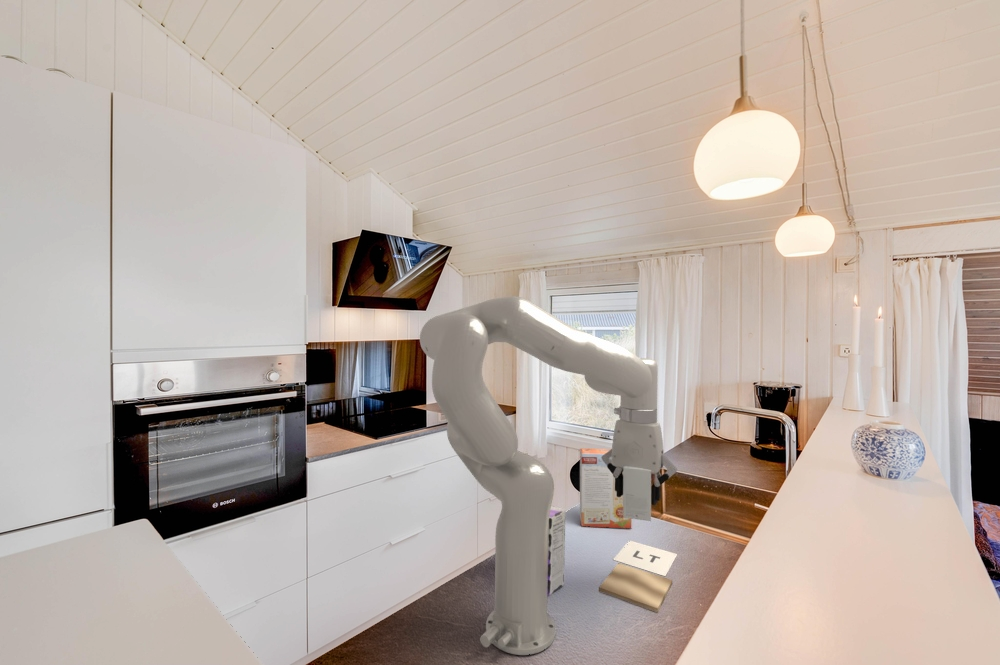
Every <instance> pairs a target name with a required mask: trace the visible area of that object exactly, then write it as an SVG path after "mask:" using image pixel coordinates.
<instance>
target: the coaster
mask: <svg viewBox="0 0 1000 665" xmlns="http://www.w3.org/2000/svg"><path fill="white" fill-rule="evenodd" d="M672 586H673V579H670V578H668V577H665V576H662V575H659V574H655V573H652V572H649V571H646V570H643V569H640V568H637V567H633V566H630V565H627V564H624V563H621V562H618V563H617V564H616V565H615V567H613V569H612V570H611V572H610V573H609V574H608V576H607V577H606V578H605V579H604V580H603V582H602V583H601V584H600V585H599V587H598V592H600V593H603V594H606V595H608V596H611V597H614V598H616V599H619V600H622V601H625V602H628V603H630V604H633V605H636V606H639V607H641V608H643V609H646V610H650V611H652V612H654V613H659V611H660V609H661V608H662V605H663V603H664V601H665V599H666V597H667V596H668V594H669V592H670V589H671V587H672Z"/></svg>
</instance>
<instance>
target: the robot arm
mask: <svg viewBox="0 0 1000 665" xmlns="http://www.w3.org/2000/svg"><path fill="white" fill-rule="evenodd" d="M419 343H420V344H419V345H420V347H421V350H422V351H423V353H424V354H425V355H426V356H427V357H428V358H430V359H432V360H434V361H433V366H432V374H431V389H432V394H433V397H434V400H435V401H436V404H437V406H438V407H439V410H441V412H442V414H443V415H444V417H445V418H446V420H447V425H446V435H447V438H448V442H449V444H450V446H451V448H452V449H453V451H454V453H456V455H457V457H458V458H459V459H460V460H461V461H462V463H463V465H464V466H465V467H466V469H468V471H469V472H470V473H471V475H472V476H473V478H475V480H476V482H478V484H480V485H481V487H482V488H484V489H485V490H486V491H487V492H488V493H489V494H491V495H492V496H493V497H495V498H496V499H498V500H499V501H500V503H501V511H500V514H499V516H498V518H497V523H496V527H495V539H494V540H495V543H494V544H495V559H494V560H495V561H494V562H495V563H494V564H495V566H494V567H495V568H494V569H495V570H494V609H493V610H492V611H491V612H490V613H489V615H488V616H487V618H486V622H485V631H484V633H483V634H481V636H480V638H479V641H480V644H481V645H482V646H483V647H484V648H488V647H490V646H491V645H493V646H494V647H496V648H497V649H499V650H500V651H502V652H504V653H508V654H511V655H515V656H516V655H518V656H528V655H529V654H530V655H535V654H537V653H541V652H542V651H544V649H545V650H546V649H547V648H549V647H550V646H551V645H552V643H553V642H554V640H555V638H556V624H555V621H554V619H553V617H552V616H551V615H550V614H549V613H548V595H547V578H548V524H549V514H550V508H551V506H552V503H553V499H554V495H555V494H554V492H555V483H554V478H553V475H552V473H551V472H550V470H549V468H548V467H547V466H546V465H545V464H544V463H542V462H541V461H540V460H539V459H537V458H535V457H534V456H531V455H530V454H527V453H525V452H522V451H519V450H518V448H519V437H518V434H517V432H516V429H515V427H514V425H513V424H512V422H511V420H509V418H508V417H507V415H506V414H505V413H504V411H503V410H502V408H501V407H500V405H499V404H498V403H497V402H496V400H495V398H494V397H493V395H492V394H491V392H490V390H489V389H488V386H487V385H486V383H485V382H484V378H483V365H484V360H485V356H486V354H487V352H488V351H487V350H488V345H491V344H494V343H506V344H509V345H511V346H512V347H515V348H516V349H519V350H520V351H523V352H525V353H526V354H529V355H530V356H532V357H534V358H536V359H537V360H538V361H539V360H540V361H541V362H542V363H545V364H546V365H549V366H551V367H553V368H555V369H559V370H562V371H564V372H569V373H573V374H577V375H583V376H584V380H585V383H586V384H587V386H589V388H591V389H592V390H593V391H596V392H598V393H602V394H608V395H613V396H618V397H620V406H619V407H614V409H613V414H615V415H618V419H617V420H615V424H614V431H613V436H612V446H611V450H610V451H608V452H607V453H606V454H604V455H603V456H602V457H601V458H602V460H603V461H604V463H605V464H606V465H607V467H608V469H609V470H610V471H611V473H612V474H613V477H614V478H615V491H617V497H621V496H622V495H623V474H622V473H623V468H624V466H630V467H636V468H642V469H648V470H651V482H652V484H651V506H656V504H658V503H659V502H660V501H661V498H662V484H664V483H665V482H667V481H668V480H669V479H670V478H671V477H672V476H673V475H674V474H676V473H677V472H678V467H677V466H676V465H675V464H673V462H672V461H671V460H670V459H669V458H668V457H667V456H666V455H665V454H664V442H663V441H664V440H663V433H662V428H661V427H662V426H661V424H660V423H659V422H658V371H659V370H658V369H659V368H658V363H657V361H656V360H655V359H652V358H647V357H646V358H642V357H638V356H637V355H636V354H634V353H632V352H631V351H629V350H627V349H626V348H624V347H622V346H620V345H618V344H615V343H613V342H611V341H608V340H606V339H602V338H600V337H597V336H596V335H594V334H590V333H588V332H586V331H583V330H580V329H577V328H575V327H573V326H571V325H570V324H568V323H567V322H565V321H563V320H561V319H559V317H556V316H555V315H553V314H551V313H550V312H549V311H546V310H545V309H543V308H541V307H540V306H538V305H537V304H535V303H533V302H532V301H530V300H529V299H526V298H524V297H521V296H516V295H513V296H503V297H499V298H497V297H496V298H492V299H489V300H488V299H487V300H485V301H482V302H479V303H476V304H473V305H470V306H467V307H464V308H459V309H456V310H453V311H450V312H446V313H443V314H440V315H436V316H433V317H431V318H430V319H428V320H427V321H426V322H425V324H424V325H423V326H422V328H421V331H420V334H419ZM664 467H665V468H666V471H665V472H664V473H663V474H661V472H660V471H661V469H663V468H664ZM530 655H529V656H530Z"/></svg>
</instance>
